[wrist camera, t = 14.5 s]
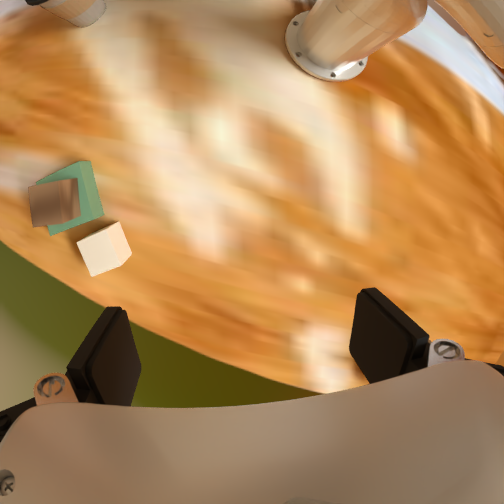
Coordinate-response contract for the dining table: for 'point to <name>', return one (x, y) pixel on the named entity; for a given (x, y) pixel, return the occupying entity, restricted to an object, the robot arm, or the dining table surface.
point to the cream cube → (104, 249)
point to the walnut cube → (54, 202)
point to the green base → (87, 194)
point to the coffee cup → (74, 10)
